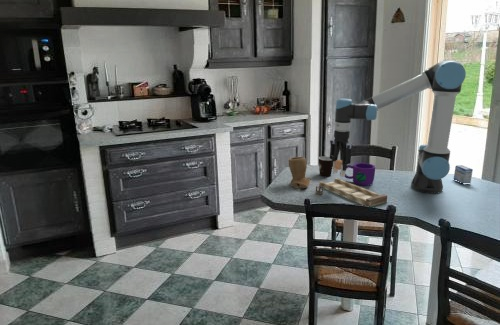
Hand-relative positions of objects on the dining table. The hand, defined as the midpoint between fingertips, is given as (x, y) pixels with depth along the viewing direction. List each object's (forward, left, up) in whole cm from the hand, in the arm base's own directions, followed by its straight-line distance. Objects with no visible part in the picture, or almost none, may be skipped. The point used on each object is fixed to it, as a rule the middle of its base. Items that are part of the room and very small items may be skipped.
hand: (338, 174), depth 201 cm
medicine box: (-28, -64, -8) cm, 71 cm away
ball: (0, 0, +5) cm, 5 cm away
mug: (+2, -16, -8) cm, 18 cm away
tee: (0, +13, -8) cm, 15 cm away
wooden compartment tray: (-9, 0, -8) cm, 12 cm away
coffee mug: (+22, -11, -8) cm, 26 cm away
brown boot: (+16, +13, -8) cm, 22 cm away
